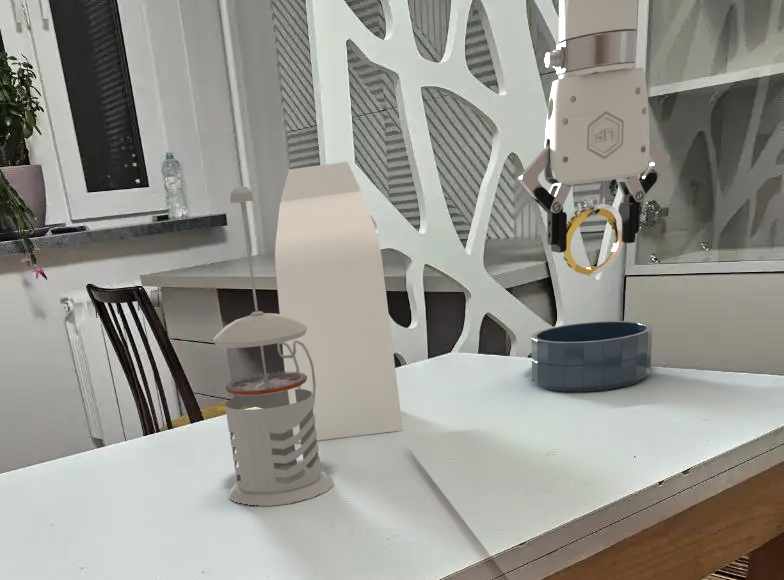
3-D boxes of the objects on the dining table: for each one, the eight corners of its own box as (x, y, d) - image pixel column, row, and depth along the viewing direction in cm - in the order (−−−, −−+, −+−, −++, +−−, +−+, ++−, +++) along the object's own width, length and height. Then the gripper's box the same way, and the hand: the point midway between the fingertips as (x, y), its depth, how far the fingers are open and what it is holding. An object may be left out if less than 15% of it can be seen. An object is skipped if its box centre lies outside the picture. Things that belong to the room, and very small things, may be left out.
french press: (206, 502, 82) (153, 197, 71) (275, 464, 91) (237, 187, 80) (298, 509, 77) (256, 182, 66) (361, 468, 86) (334, 173, 75)
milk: (291, 443, 97) (256, 173, 86) (291, 419, 107) (260, 174, 96) (402, 430, 97) (382, 155, 85) (392, 406, 107) (373, 159, 95)
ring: (566, 281, 100) (567, 202, 97) (556, 279, 103) (556, 202, 100) (628, 273, 101) (631, 193, 97) (616, 270, 104) (618, 193, 100)
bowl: (622, 362, 113) (623, 316, 111) (669, 382, 101) (672, 331, 99) (518, 377, 113) (517, 331, 110) (553, 398, 101) (553, 347, 99)
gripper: (524, 65, 89) (525, 259, 97) (697, 42, 90) (684, 238, 98) (502, 74, 96) (505, 255, 104) (663, 53, 96) (654, 235, 104)
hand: (592, 245), depth 101 cm, fingers closed on ring, 7 cm apart
